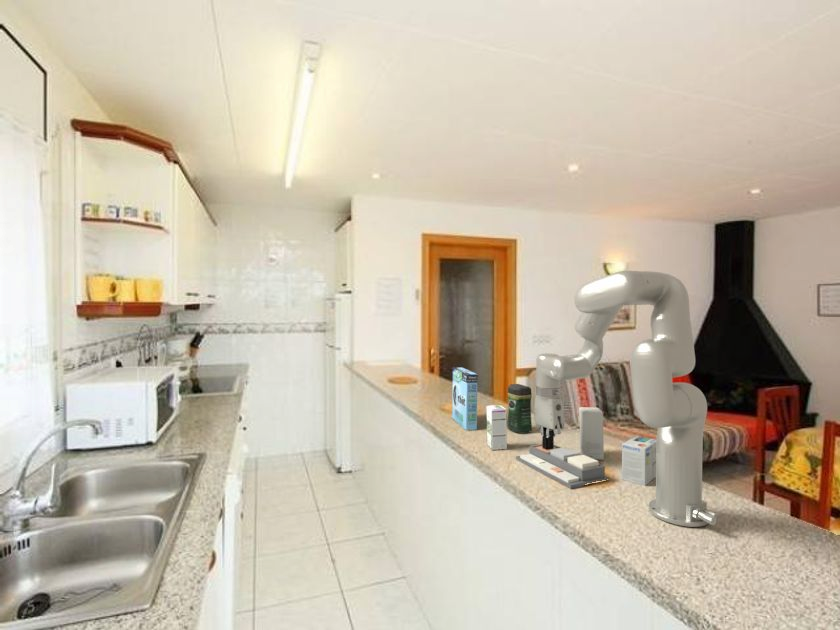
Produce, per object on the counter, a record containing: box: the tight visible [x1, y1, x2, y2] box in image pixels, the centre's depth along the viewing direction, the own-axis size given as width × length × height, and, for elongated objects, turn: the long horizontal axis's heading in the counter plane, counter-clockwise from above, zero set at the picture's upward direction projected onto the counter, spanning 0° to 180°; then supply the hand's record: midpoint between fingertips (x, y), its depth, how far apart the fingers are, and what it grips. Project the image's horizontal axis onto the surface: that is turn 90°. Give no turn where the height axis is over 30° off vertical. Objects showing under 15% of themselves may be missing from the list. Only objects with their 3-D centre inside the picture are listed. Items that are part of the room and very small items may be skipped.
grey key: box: [550, 446, 580, 461], centre depth 135 cm, size 6×6×2 cm
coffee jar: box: [507, 383, 533, 434], centre depth 176 cm, size 10×8×19 cm
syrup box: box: [486, 404, 508, 451], centre depth 155 cm, size 6×6×14 cm
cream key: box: [568, 454, 600, 469], centre depth 128 cm, size 6×6×2 cm
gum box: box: [451, 366, 479, 431], centre depth 186 cm, size 20×5×23 cm, turn 13°
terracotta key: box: [535, 446, 558, 453], centre depth 142 cm, size 6×6×2 cm
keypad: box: [515, 443, 610, 490], centre depth 135 cm, size 25×14×4 cm, turn 23°
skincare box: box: [578, 406, 605, 461], centre depth 147 cm, size 8×7×16 cm
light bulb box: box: [621, 435, 656, 486], centre depth 128 cm, size 11×7×11 cm, turn 135°
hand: (547, 448), depth 142 cm, fingers closed
